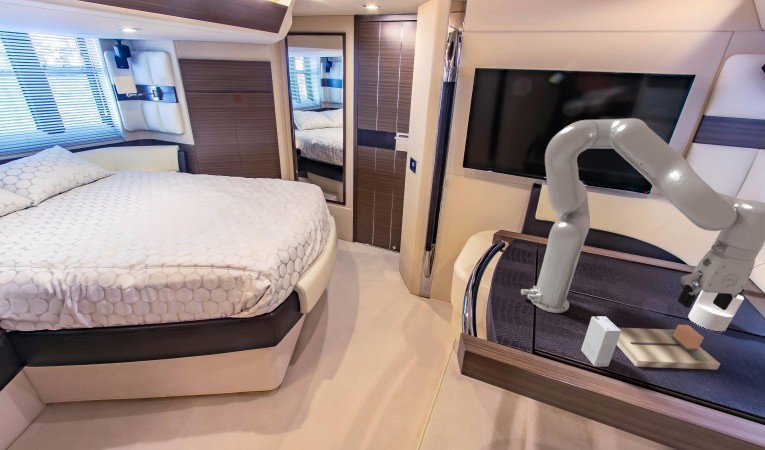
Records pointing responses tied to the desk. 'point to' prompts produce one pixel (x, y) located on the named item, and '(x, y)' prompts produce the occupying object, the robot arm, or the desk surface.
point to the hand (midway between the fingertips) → (700, 305)
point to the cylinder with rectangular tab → (713, 312)
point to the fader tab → (687, 337)
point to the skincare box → (600, 341)
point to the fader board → (661, 350)
